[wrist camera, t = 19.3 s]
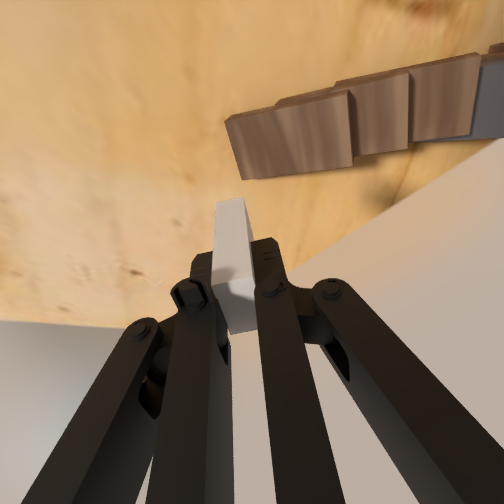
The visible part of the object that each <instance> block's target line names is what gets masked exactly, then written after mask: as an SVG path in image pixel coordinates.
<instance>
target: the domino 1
mask: <svg viewBox="0 0 504 504" xmlns="http://www.w3.org/2000/svg"><path fill="white" fill-rule="evenodd" d="M224 122H225V126H226V129H227V132H228V136H229V139H230V142H231V145H232V149H233V152H234V155H235V159H236V162H237V165H238V169H239V172H240V175H241V179H242V180H249V179H257V178H265V177H273V176H281V175H289V174H296V173H304V172H312V171H320V170H328V169H336V168H344V167H351V166H353V160H354V154H353V141H352V128H351V116H350V103H349V90H348V89H347V90H342V91H338V92H333V93H329V94H324V95H320V96H315V97H311V98H306V99H302V100H298V101H293V102H289V103H284V104H280V105H275V106H271V107H266V108H262V109H257V110H253V111H249V112H244V113H240V114H235V115H231V116H230V117H229V118H228V119H227V120H225V121H224Z"/></svg>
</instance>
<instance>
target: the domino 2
mask: <svg viewBox="0 0 504 504" xmlns="http://www.w3.org/2000/svg"><path fill="white" fill-rule="evenodd" d="M408 83H409V73H408V71H407V69H405V70H400V71H396V72H392V73H388V74H384V75H380V76H375V77H371V78H367V79H363V80H359V81H354V82H350V83H346V84H342V85H338V86H333V87H329V88H325V89H321V90H317V91H313V92H308V93H304V94H300V95H296V96H292V97H287V98H283V99H280V100H279V101H278V102H277V103H276V104H275V105H280V104H284V103H289V102H293V101H298V100H302V99H306V98H311V97H315V96H320V95H324V94H329V93H333V92H338V91H342V90H347V89H348V90H349V103H350V116H351V128H352V141H353V154H354V156H361V155H368V154H375V153H381V152H388V151H395V150H402V149H408Z"/></svg>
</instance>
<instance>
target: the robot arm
mask: <svg viewBox="0 0 504 504" xmlns="http://www.w3.org/2000/svg"><path fill="white" fill-rule="evenodd" d="M170 294H171V296H172V298H173V300H174V302H175V304H176V306H177V308H178V313H176V314H175V315H173V316H171V317H170V318H168V319H165V320H163V321H161V322H159V323H158V322H157V321H156V320H155V319H154V318H149V317H147V318H141V319H139V320H137V321H135V322H133V323H132V324H131V325H129V326H128V327H127V329H126V330H125V331H124V333H123V334H122V336H121V338H120V339H119V341H118V343H117V344H116V346H115V348H114V349H113V351H112V353H111V354H110V356H109V358H108V359H107V361H106V363H105V364H104V366H103V368H102V369H101V371H100V373H99V374H98V376H97V378H96V379H95V381H94V383H93V384H92V386H91V388H90V389H89V391H88V393H87V394H86V396H85V398H84V399H83V401H82V403H81V405H80V406H79V408H78V409H77V411H76V413H75V414H74V416H73V418H72V419H71V421H70V423H69V424H68V426H67V428H66V429H65V431H64V433H63V435H62V436H61V438H60V439H59V441H58V443H57V444H56V446H55V448H54V449H53V451H52V453H51V454H50V456H49V458H48V459H47V461H46V463H45V464H44V466H43V468H42V469H41V471H40V473H39V475H38V476H37V478H36V479H35V481H34V483H33V484H32V486H31V488H30V489H29V491H28V493H27V494H26V496H25V498H24V499H23V501H22V503H21V504H135V503H136V500H137V497H138V495H139V492H140V489H141V487H142V484H143V481H144V478H145V476H146V473H147V470H148V467H149V465H150V462H151V459H152V457H153V461H152V467H151V473H150V479H149V485H148V491H147V497H146V502H145V504H234V470H233V469H234V468H233V467H234V466H233V422H232V379H231V378H232V377H231V345H230V342H229V339H228V337H227V328H228V330H229V332H230V335H232V334H237V333H242V332H248V331H252V330H257V329H258V336H259V345H260V355H261V364H262V373H263V382H264V392H265V401H266V410H267V419H268V429H269V437H270V446H271V456H272V465H273V474H274V484H275V493H276V502H277V504H346V503H345V499H344V496H343V492H342V488H341V485H340V480H339V476H338V472H337V469H336V465H335V461H334V457H333V453H332V449H331V445H330V441H329V437H328V433H327V429H326V426H325V422H324V418H323V414H322V410H321V406H320V402H319V398H318V395H317V390H316V386H315V383H314V379H313V375H312V371H311V367H310V363H309V360H308V355H307V352H306V348H305V344H304V343H308V344H319V345H320V347H321V349H322V351H323V352H324V354H325V355H326V357H327V358H328V360H329V362H330V363H331V365H332V366H333V368H334V370H335V371H336V373H337V374H338V376H339V377H340V379H341V381H342V382H343V384H344V385H345V387H346V388H347V390H348V392H349V393H350V395H351V396H352V398H353V400H354V401H355V402H356V404H357V406H358V407H359V409H360V411H361V412H362V414H363V415H364V417H365V418H366V420H367V422H368V423H369V425H370V426H371V428H372V429H373V431H374V433H375V434H376V436H377V437H378V439H379V440H380V442H381V443H382V445H383V447H384V448H385V450H386V452H387V453H388V455H389V456H390V458H391V459H392V461H393V463H394V464H395V466H396V467H397V469H398V470H399V472H400V474H401V475H402V477H403V478H404V480H405V481H406V483H407V484H408V486H409V488H410V489H411V491H412V492H413V494H414V496H415V497H416V499H417V500H418V502H419V503H420V504H504V449H503V448H502V447H501V446H500V445H499V444H498V443H497V442H496V440H495V439H494V438H493V437H492V436H491V435H490V434H489V433H488V432H487V431H486V430H485V429H484V428H483V427H482V426H481V424H479V422H478V421H477V420H476V419H475V418H474V417H473V416H472V415H471V414H470V413H469V412H468V411H467V410H466V409H465V407H464V406H462V404H461V403H460V402H459V401H458V400H457V399H456V398H455V397H454V396H453V395H452V394H451V393H450V392H449V390H448V389H447V388H446V387H445V386H444V385H443V384H442V383H441V382H440V381H439V380H438V379H437V378H436V377H435V376H434V374H433V373H431V371H430V370H429V369H428V368H427V367H426V366H425V365H424V364H423V363H422V362H421V361H420V360H419V359H418V358H417V356H416V355H415V354H414V353H413V352H412V351H411V350H410V349H409V348H408V347H407V346H406V345H405V344H404V343H403V342H402V340H400V338H399V337H398V336H397V335H396V334H395V333H394V332H393V331H392V330H391V329H390V328H389V327H388V326H387V325H386V324H385V322H384V321H383V320H382V319H381V318H380V317H379V316H378V315H377V314H376V313H375V312H374V311H373V310H372V309H371V307H369V305H368V304H367V303H366V302H365V301H364V300H363V299H362V298H361V297H360V296H359V295H358V294H357V293H356V292H355V290H354V289H353V288H352V287H351V286H350V285H349V284H348V283H346V282H345V281H343V280H340V279H337V278H328V279H324V280H321V281H319V282H318V283H316V284H315V286H314V287H313V288H312V289H308V288H299V287H296V286H294V285H292V284H291V283H290V282H289V281H288V279H287V276H286V273H285V269H284V265H283V261H282V257H281V253H280V249H279V245H278V242H277V241H275V240H274V239H273V238H272V237H270V238H266V239H261V240H257V241H254V237H253V233H252V229H251V225H250V221H249V217H248V213H247V209H246V205H245V201H244V197H239V198H235V199H231V200H226V201H222V202H218V203H216V205H215V223H214V240H213V251H210V252H206V253H201V254H197V255H196V257H195V258H194V260H193V261H192V264H191V271H190V277H189V278H186V279H183V280H182V281H180V282H178V283H177V284H176V285H175V286H174V287H173V288H172V290H171V292H170ZM153 454H154V455H153Z"/></svg>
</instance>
